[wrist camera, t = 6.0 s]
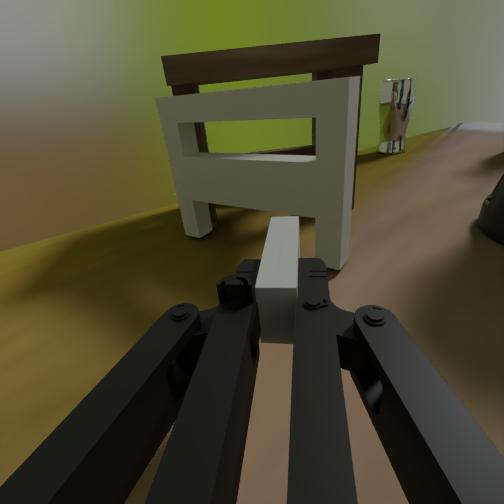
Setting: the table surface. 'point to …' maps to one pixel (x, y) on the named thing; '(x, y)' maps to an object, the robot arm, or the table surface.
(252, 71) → the stool
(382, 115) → the beer glass
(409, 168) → the table surface
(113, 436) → the robot arm
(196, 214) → the gate leg
